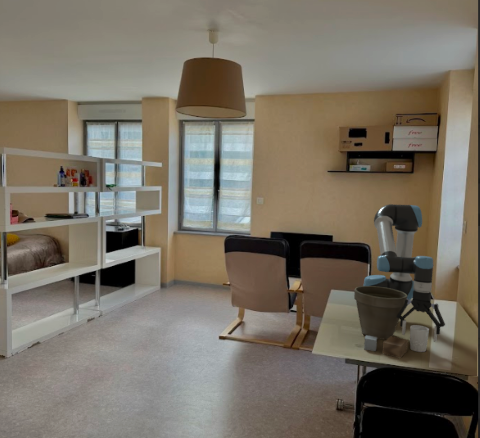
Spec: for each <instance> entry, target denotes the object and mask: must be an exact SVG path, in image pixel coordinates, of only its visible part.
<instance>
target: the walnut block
mask: <svg viewBox="0 0 480 438" xmlns="http://www.w3.org/2000/svg"><path fill="white" fill-rule="evenodd" d="M408 345H409V340H408V339H406V338H401V337H397V336H394V335H393V336H390V337H389V338H388V339H384V341H383V342H382V354H383V355H388V356H391V357H395V358H398V359H401V358H402V357H403V356H404V355H405V354H406V353H407V352H408Z"/></svg>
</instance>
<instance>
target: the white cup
mask: <svg viewBox="0 0 480 438" xmlns="http://www.w3.org/2000/svg"><path fill="white" fill-rule="evenodd" d="M429 331H430V328H429V327H427V326H425V325H424V326H423V325H419V324H413V325H412V324H411V325H410V327H409V343H410V344H409V345H410V346H409V349H410V350H412V351H414V352H418V353H426V351H427V348H428V347H427V346H428V340H429V333H430V332H429Z"/></svg>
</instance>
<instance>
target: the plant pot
mask: <svg viewBox="0 0 480 438" xmlns="http://www.w3.org/2000/svg"><path fill="white" fill-rule="evenodd" d="M353 296H354V300H355V302H356V307H357V313H358V318H359V319H358V320H359V324H360V331H361V333H362V334H363V336H364V335H365V336H366V335H367V336H374V337H377V340H387V339H388V338H389V337H390V336H393V337H394V333H395V331H396V329H397V326H398V323H399V321H400V319H399V318H397V317H396V316H397V315H398V313H399V312H400V310H401V308H402V307H403V305H404V303H405V300H406V299H407V294H405V293H404V292H401V291H398V290H394V289H390V288H384V287H376V286H363V285H361V286H356V287H355V288H354V294H353Z"/></svg>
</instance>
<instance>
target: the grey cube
mask: <svg viewBox="0 0 480 438" xmlns="http://www.w3.org/2000/svg"><path fill="white" fill-rule="evenodd" d="M377 343H378V339H377V337H374V336H367V335H365V336H364V343H363V350H365V351H370V352H371V351H372V352H376V351H377V348H378V347H377V345H378V344H377Z"/></svg>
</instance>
